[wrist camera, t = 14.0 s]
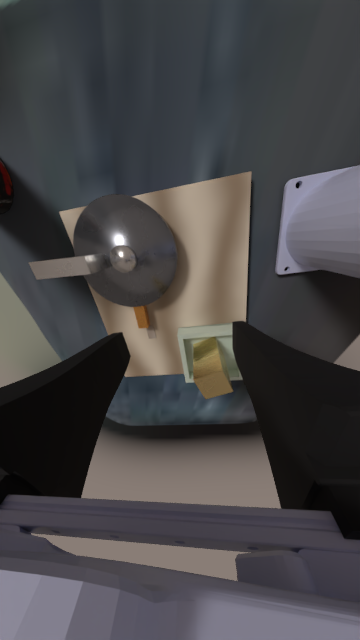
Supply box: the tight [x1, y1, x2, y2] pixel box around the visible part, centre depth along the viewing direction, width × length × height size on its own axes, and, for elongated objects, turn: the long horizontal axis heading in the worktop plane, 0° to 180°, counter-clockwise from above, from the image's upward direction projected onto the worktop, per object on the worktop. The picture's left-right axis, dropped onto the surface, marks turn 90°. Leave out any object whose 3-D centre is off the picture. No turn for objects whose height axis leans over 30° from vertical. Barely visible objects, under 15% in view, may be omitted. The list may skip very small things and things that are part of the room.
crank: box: [29, 194, 178, 328], centre depth 16 cm, size 13×12×4 cm
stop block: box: [193, 336, 233, 399], centre depth 19 cm, size 3×3×6 cm
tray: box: [177, 323, 243, 383], centre depth 21 cm, size 8×8×2 cm
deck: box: [59, 172, 251, 377], centre depth 20 cm, size 18×22×1 cm
